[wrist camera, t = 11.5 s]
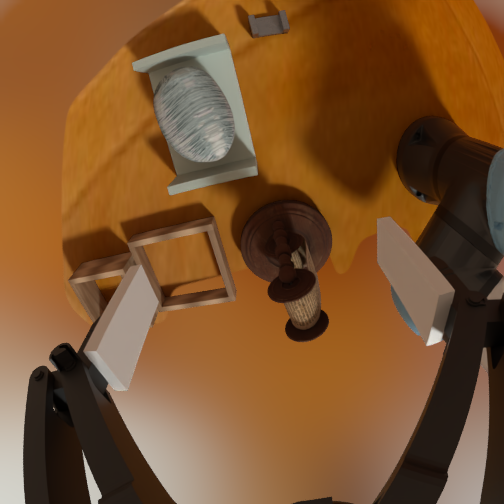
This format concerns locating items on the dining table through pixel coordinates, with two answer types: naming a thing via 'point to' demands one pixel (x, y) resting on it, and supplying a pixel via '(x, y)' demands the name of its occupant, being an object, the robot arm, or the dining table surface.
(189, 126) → the grey oval rock
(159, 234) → the frame
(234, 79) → the holder
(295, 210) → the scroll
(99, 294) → the frame
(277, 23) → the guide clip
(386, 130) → the dining table surface
